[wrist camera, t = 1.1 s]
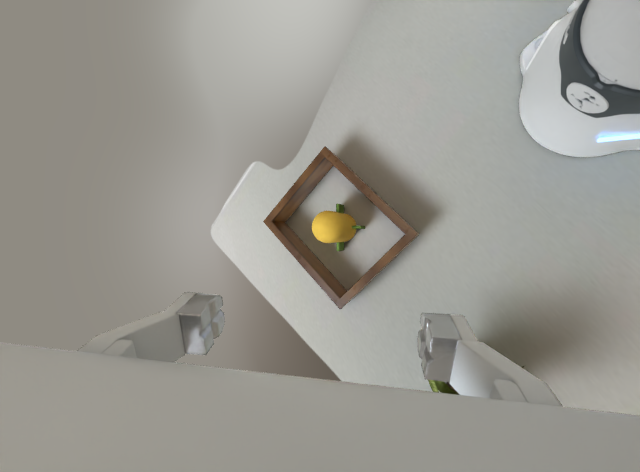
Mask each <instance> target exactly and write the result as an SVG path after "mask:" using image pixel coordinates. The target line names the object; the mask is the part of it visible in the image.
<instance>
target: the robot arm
mask: <svg viewBox="0 0 640 472" xmlns="http://www.w3.org/2000/svg"><path fill="white" fill-rule="evenodd" d="M567 11H568V12H569V13H568V14H567V15H566V16H564V17H563V18H562V19H560V20H556V21H555V22H554V23H553V24H552V25H551V27H550V28H549V29H548V30H546V31H545V32H544V33H542V34H541V35H540V36H539V37H537V38H536V39H535V40H534V41H532V42H531V43H530V44H528V45H527V46H526V47H525V48H524V50H523V51H522V53H521V54H520V58H519V63H520V68H521V72H522V75H523V82H522V87H521V91H520V96H519V113H520V117H521V121H522V123H523V125H524V127H525V129H526V130H527V132H528V133H529V135H530V136H531V137H532V138H533V139H534V140H535V141H536V142H538V143H539V144H540V145H542V146H543V147H545V148H547V149H549V150H551V151H553V152H556V153H559V154H562V155H567V156H573V157H597V156H604V155H608V154H612V153H617V152H621V151H626V150H640V0H575V1H574V2H573V3H572V4H571V5H570V6H569V8H568V9H567ZM538 46H539V47H538ZM222 306H223V300H222V297H221V296H220V295H212V294H203V293H193V292H185V293H183V294H182V295H181V296H180V297H179V298H178V299H177V300H176V301H175V302H173V303H172V304H171V305H170V306H169V307H168V308H167V309H166V310H165V311H164V312H158V313H155V314H152V315H150V316H147V317H145V318H142V319H139V320H137V321H134V322H131V323H129V324H126V325H123V326H121V327H118V328H115V329H113V330H110V331H107V332H105V333H102V334H99V335H97V336H95V337H94V338H93V339H91V340H90V341H89V342H88V343H86V344H85V345H84V346H83V347H81V348H80V349H79V350H77V351H70V350H61V349H52V348H44V347H35V346H27V345H18V344H9V343H0V472H640V415H631V414H622V413H613V412H604V411H596V410H587V409H578V408H569V407H563V406H562V404H561V403H560V401H559V400H558V399H557V397H556V396H555V394H554V393H553V392H552V390H551V389H550V388H549V386H548V385H547V384H546V383H545V382H543V381H542V380H540V379H539V378H537V377H536V376H534V375H532V374H531V373H529V372H528V371H526V370H525V369H523V368H522V367H520V366H519V365H517V364H515V363H514V362H512V361H511V360H509V359H508V358H506V357H505V356H503V355H502V354H500V353H499V352H497V351H495V350H494V349H492V348H491V347H489V346H488V345H486V344H485V343H483V342H478V340H477V338H476V336H475V334H474V333H473V331H472V329H471V327H470V325H469V324H468V322H467V320H466V318H465V316H463V315H453V314H434V313H422V314H421V318H420V324H421V328H422V329H421V330H420V331H419V332H418V353H419V357H420V358H421V359H422V365H421V366H422V369H423V373H424V377H425V379H427V380H435V381H442V382H449V384H450V385H451V386H452V387H453V388H454V389H455V390H456V391H457V392H458V393H459V394H460V395H456V394H447V393H439V392H430V391H421V390H412V389H404V388H395V387H386V386H377V385H368V384H360V383H351V382H342V381H333V380H324V379H315V378H306V377H298V376H289V375H281V374H272V373H263V372H254V371H246V370H245V371H244V370H237V369H228V368H219V367H211V366H202V365H192V364H184V363H176V362H175V361H176V360H178V359H179V358H181V357H182V356H184V355H185V354H186V353H187V354H198V355H206V354H207V353H208V352H209V350H210V348H211V347H212V346H213V344H214V340H213V339H215V338H217V337H219V335H220V334H221V332H222V330H223V327H224V322H225V317H224V313H223V312H222V311H221V309H220V308H221V307H222Z"/></svg>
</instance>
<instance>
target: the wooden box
mask: <svg viewBox="0 0 640 472" xmlns="http://www.w3.org/2000/svg"><path fill="white" fill-rule="evenodd" d="M333 165H334V166H335V167H336V168H337V169H338V170H339V171H340V172H341V173H342V174H343V175H344V176H345V177H346V178H347V179H348V180H349V181H351V182H352V183H353V184H354V185H355V186H356V187H357V188H358V189H359V190H360V191H361V192H362V193H363V194H364V195H365V196H366V197H367V198H368V199H369V200H370V201H371V202H372V203H373V204H375V205H376V206H377V207H378V208H379V209H380V210H381V211H382V212H383V213H384V214H385V215H386V216H387V217H388V218H389V219H390V220H391V221H392V222H393V223H394V224H395V225H396V226H397V227H398V228H400V229H401V230H402V231H403V232H404V233H405V235H404V236H403V237H402V238H401V239H400V240H399V241H398V242H397V243H396V244H395V245H394V246H393V247H392V248H391V249H390V250H389V251H388V252H387V253H386V254H385V255H384V256H383V257H382V258H381V259H380V260H379V261H378V262H377V263H376V264H375V265H374V266H373V267H372V268H371V269H370V270H369V271H368V272H367V273H366V274H365V275H364V276H362V277H361V278H360V279H359V280H358V281H357V282H356V283H355V284H354V285H353V286H352V287H351V288H350V289H349V290H348V291H347V290H346V289H345V288H344V287H343V286H342V285H341V284H340V283H339V282H338V281H337V279H336V278H335V277H334V276H333V275H332V274H331V273H330V272H329V271H328V269H327V268H326V267H325V266H324V265H323V264H322V263H321V262H320V261H319V259H318V258H317V257H316V256H315V255H314V254H313V253H312V252H311V251H310V249H309V248H308V247H307V246H306V245H305V244H304V243H303V242H302V241H301V239H300V238H299V237H298V236H297V235H296V234H295V233H294V232H293V231H292V230H291V228H290V227H289V226H288V225H287V224H286V223H285V222H286V221H287V219H288V218H289V217H290V216H291V215H292V214H293V212H294V211H295V210H296V209H297V208H298V206H299V205H300V204H301V203H302V202H303V201H304V199H305V198H306V197H307V196H308V195H309V193H310V192H311V191H312V190H313V189H314V188H315V186H316V185H317V184H318V183H319V182H320V180H321V179H322V178H323V177H324V176H325V175H326V173H327V172H328V171H329V170H330V169H331V167H332V166H333ZM263 222H264V223H265V224H266V225H267V226H268V228H269V229H270V230H271V231H272V232H273V233H274V234H275V236H276V237H277V238H278V239H279V240H280V241H281V242H282V244H283V245H284V246H285V247H286V248H287V249H288V250H289V252H290V253H291V254H292V255H293V256H294V257H295V258H296V260H297V261H298V262H299V263H300V264H301V265H302V266H303V268H304V269H305V270H306V271H307V272H308V273H309V274H310V276H311V277H312V278H313V279H314V280H315V281H316V282H317V284H318V285H319V286H320V287H321V288H322V289H323V290H324V292H325V293H326V294H327V295H328V296H329V297H330V298H331V300H332V301H333V302H334V303H335V304H336V305H337V306H338V308H339V309H342V308H343V307H344V306H345V305H346V304H347V303H348V302H350V301H351V300H352V299H353V298H354V297H355V296H356V295H357V294H358V293H359V292H360V291H361V290H362V289H363V288H364V287H365V286H366V285H367V284H368V283H369V282H370V281H371V280H372V279H374V278H375V277H376V276H377V275H378V274H379V273H380V272H381V271H382V270H383V269H384V268H385V267H386V266H387V265H388V264H389V263H390V262H391V261H392V260H393V259H394V258H395V257H396V256H397V255H398V254H399V253H400V252H402V251H403V250H404V249H405V248H406V247H407V246H408V245H409V244H410V243H411V242H412V241H413V240H414V239H415V238H416V237H417V236H418V235H419V233H418V232H417V231H416V230H415V229H414V228H413V227H412V226H411V225H410V224H408V223H407V222H406V221H405V220H404V219H403V218H402V217H401V216H400V215H399V214H398V213H397V212H396V211H395V210H394V209H393V208H391V207H390V206H389V205H388V204H387V203H386V202H385V201H384V200H383V199H382V198H381V197H380V196H379V195H378V194H377V193H376V192H374V191H373V190H372V189H371V188H370V187H369V186H368V185H367V184H366V183H365V182H364V181H363V180H362V179H361V178H360V177H359V176H358V175H356V174H355V173H354V172H353V171H352V170H351V169H350V168H349V167H348V166H347V165H346V164H345V163H344V162H343V161H342V160H341V159H339V158H338V157H337V156H336V155H335V154H333V153H332V152H331V151H330V150H329V149H328V148H327V147H324V148H323V149H322V150H321V152H320V153H319V154H318V155H317V157H316V158H315V159H314V160H313V161H312V163H311V164H310V165H309V166H308V168H307V169H306V170H305V171H304V172H303V174H302V175H301V176H300V177H299V179H298V180H297V181H296V182H295V183H294V185H293V186H292V187H291V188H290V190H289V191H288V192H287V193H286V194H285V196H284V197H283V198H282V199H281V201H280V202H279V203H278V204H277V205H276V207H275V208H274V209H273V210H272V212H271V213H270V214H269V215H268V216H267V218H266V219H265V220H264V221H263Z"/></svg>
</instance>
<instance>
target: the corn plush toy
mask: <svg viewBox="0 0 640 472" xmlns="http://www.w3.org/2000/svg"><path fill="white" fill-rule="evenodd" d="M356 229H365V226H356V222H355V220H354V219H353V218H352V217H351V216H350V215H348V214H344V205H341V204H336V212H333V211H323V212H321V213H319V214H318V215H317V216H316V217H315V218H314V220H313V223H312V231H313V234H314V236H315V237H316V238H317V239H318V240H319V241H321V242H324V243H336V242H337V251H342V250H344V242H346V241H349V240H350V239H352V238H353V236H354V235H355V233H356Z"/></svg>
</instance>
